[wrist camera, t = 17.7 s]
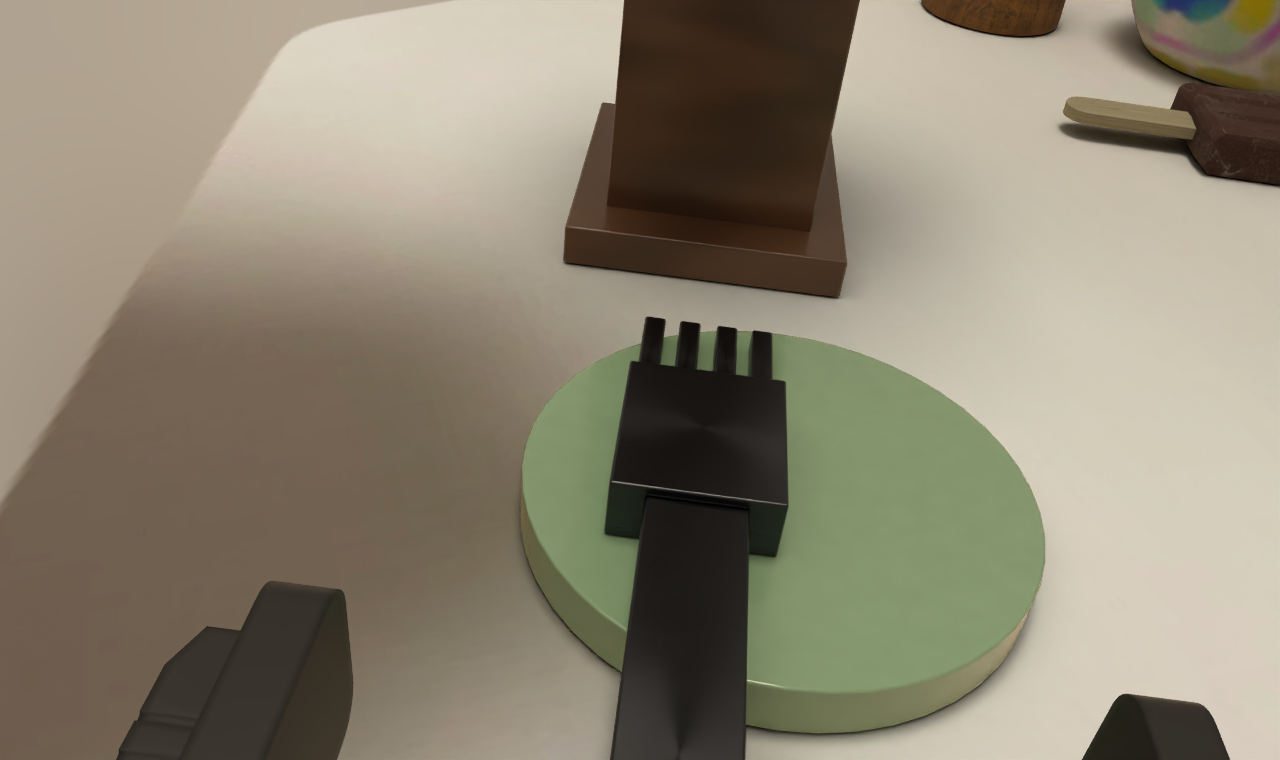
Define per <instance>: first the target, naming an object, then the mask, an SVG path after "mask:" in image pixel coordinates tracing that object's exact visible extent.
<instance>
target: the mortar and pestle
mask: <svg viewBox="0 0 1280 760" xmlns="http://www.w3.org/2000/svg"><path fill="white" fill-rule="evenodd" d="M1065 1H1066V0H922V2H923V4H924V6H925V7H926V8H927V9H928V10H929V11H930V12H931V13H932V14H934V15H936V16H938V17H940V18H942V19H944V20H946V21H949V22H952V23H955V24H958V25H961V26H964V27H967V28H971V29H975V30H979V31H984V32H989V33H995V34H1003V35H1013V36H1030V35H1039V34H1045V33H1048V32H1050V31H1052V30H1054V29H1055V28H1056V26H1057V25H1058V22H1059V20H1060V17H1061V14H1062V10H1063V7H1064V4H1065Z"/></svg>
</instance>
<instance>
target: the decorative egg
mask: <svg viewBox="0 0 1280 760" xmlns="http://www.w3.org/2000/svg"><path fill="white" fill-rule="evenodd" d="M1131 1H1132V8H1133V13H1134V17H1135V21H1136V25H1137V28H1138V31H1139V34H1140V37H1141V39H1142V41H1143V43H1144V45H1145V47H1146V48H1147V49H1148V50H1149V51H1150V52H1151V54H1152V55H1153V56H1155V57H1156V58H1158V59H1159V60H1161V61H1162V62H1164V63H1165V64H1167V65H1168V66H1170V67H1172V68H1174V69H1176V70H1178V71H1180V72H1183V73H1185V74H1187V75H1190V76H1193V77H1195V78H1198V79H1201V80H1204V81H1206V82H1210V83H1213V84H1217V85H1220V86H1224V87H1229V88H1233V89H1239V90H1246V91H1253V92H1260V93H1267V94H1274V95H1280V0H1131Z"/></svg>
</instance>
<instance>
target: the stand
mask: <svg viewBox="0 0 1280 760" xmlns="http://www.w3.org/2000/svg"><path fill="white" fill-rule="evenodd" d="M859 2H860V0H624V9H623V20H622V32H621V43H620V55H619V66H618V78H617V90H616V101H615V104H611V103H602V104H601V107H600V111H599V114H598V118H597V121H596V124H595V128H594V131H593V135H592V138H591V141H590V145H589V148H588V152H587V155H586V158H585V162H584V165H583V169H582V172H581V176H580V179H579V182H578V186H577V189H576V193H575V196H574V199H573V203H572V206H571V210H570V213H569V216H568V220H567V223H566V227H565V240H564V256H563V260H564V262H567V263H575V264H583V265H591V266H598V267H606V268H614V269H622V270H630V271H637V272H645V273H653V274H661V275H669V276H676V277H684V278H692V279H700V280H708V281H715V282H723V283H731V284H739V285H747V286H754V287H762V288H770V289H778V290H786V291H793V292H801V293H809V294H817V295H825V296H832V297H839V295H840V291H841V287H842V283H843V279H844V275H845V271H846V267H847V258H846V250H845V241H844V233H843V225H842V217H841V209H840V201H839V193H838V185H837V177H836V168H835V160H834V152H833V144H832V136H831V133H832V128H833V123H834V119H835V114H836V109H837V105H838V100H839V95H840V91H841V86H842V81H843V76H844V72H845V67H846V62H847V58H848V53H849V48H850V44H851V39H852V34H853V30H854V25H855V20H856V16H857V11H858V6H859Z"/></svg>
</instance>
